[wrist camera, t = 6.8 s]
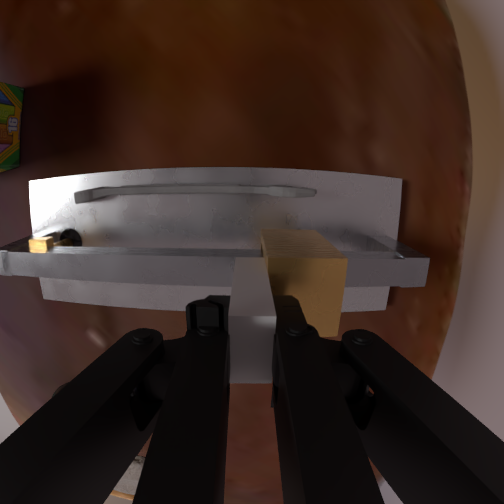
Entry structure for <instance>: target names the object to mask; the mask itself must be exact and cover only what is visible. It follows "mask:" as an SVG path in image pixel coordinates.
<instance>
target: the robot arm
mask: <svg viewBox="0 0 504 504" xmlns="http://www.w3.org/2000/svg"><path fill="white" fill-rule="evenodd" d="M185 308H186V321H187V332H186V335H185V336H184V337H182V338H178V339H172V340H163V336H162V334H161V333H160V332H159V331H157V330H154V329H148V328H142V329H141V328H139V329H136V330H133V331H130V332H128V333H127V334H125V335H124V336H123V337H122V338H120V339H119V340H118V341H117V342H116V343H115V344H113V345H112V346H111V347H110V348H109V349H108V350H106V351H105V352H104V353H103V354H102V355H101V356H99V357H98V358H97V359H96V360H95V361H94V362H92V363H91V364H90V365H89V366H88V367H87V368H85V369H84V370H83V371H82V372H81V373H80V374H79V375H77V376H76V377H75V378H74V379H73V380H72V381H71V382H69V383H68V384H67V385H66V386H65V387H64V388H63V389H61V390H60V391H59V392H58V393H57V394H56V395H55V396H53V397H52V398H51V399H50V400H49V401H48V402H47V403H45V404H44V405H43V406H42V407H41V408H40V409H39V410H38V411H36V412H35V413H34V414H33V415H32V416H31V417H30V418H29V419H28V420H26V421H25V422H24V423H23V424H22V425H21V426H20V427H19V428H18V429H17V430H15V431H14V432H13V433H12V434H11V435H10V436H9V437H8V438H7V439H5V440H4V441H3V442H2V443H1V444H0V504H103V503H104V502H105V500H106V499H107V498H108V496H109V495H110V493H111V492H112V490H113V489H114V488H115V486H116V485H117V483H118V482H119V480H120V479H121V478H122V476H123V475H124V473H125V472H126V470H127V469H128V468H129V466H130V465H131V463H132V462H133V460H134V459H135V457H136V456H137V455H138V453H139V452H140V450H141V449H142V447H143V446H144V444H145V443H146V441H147V440H148V439H149V437H150V436H151V434H152V433H153V435H152V438H151V441H150V444H149V448H148V451H147V454H146V458H145V461H144V464H143V468H142V471H141V475H140V478H139V482H138V485H137V489H136V492H135V496H134V499H133V503H132V504H224V484H225V465H226V447H227V430H228V413H229V397H230V383H272V376H273V388H272V400H271V407H274V414H275V424H276V433H277V442H278V452H279V462H280V471H281V481H282V491H283V500H284V504H385V503H384V501H383V498H382V495H381V492H380V489H379V487H378V484H377V481H376V478H375V476H374V473H373V470H372V467H371V465H370V462H369V459H368V457H369V458H370V460H371V461H372V462H373V464H374V465H375V467H376V468H377V469H378V471H379V472H380V473H381V475H382V476H383V477H384V479H385V480H386V481H387V482H388V484H389V485H390V486H391V488H392V489H393V491H394V492H395V493H396V494H397V496H398V497H399V498H400V500H401V501H402V502H403V503H404V504H504V442H503V441H502V440H501V439H500V438H499V437H497V436H496V435H495V434H494V433H493V432H492V431H490V430H489V429H488V428H487V427H486V426H485V425H484V424H482V423H481V422H480V421H479V420H477V418H475V417H474V416H473V415H472V414H471V413H470V412H468V411H467V410H466V409H465V408H464V407H463V406H461V405H460V404H459V403H458V402H457V401H456V400H454V399H453V398H452V397H451V396H450V395H449V394H447V393H446V392H445V391H444V390H443V389H441V388H440V387H439V386H438V385H437V384H436V383H434V382H433V381H432V380H431V379H430V378H428V377H427V376H426V375H425V374H424V373H422V372H421V371H420V370H419V369H418V368H417V367H415V366H414V365H413V364H412V363H411V362H409V361H408V360H407V359H406V358H405V357H403V356H402V355H401V354H400V353H398V352H397V351H396V350H395V349H394V348H392V347H391V346H390V345H389V344H388V343H386V342H385V341H384V340H383V339H382V338H380V337H379V336H378V335H376V334H375V333H373V332H370V331H367V330H364V329H362V330H361V329H356V330H350V331H347V332H345V333H344V334H343V335H342V340H341V341H335V340H329V339H324V338H321V337H320V336H319V333H318V331H317V330H316V328H315V327H313V326H312V325H310V324H307V321H306V319H305V316H304V313H303V312H302V308H301V306H300V303H299V301H298V300H297V299H296V298H295V297H293V296H292V295H272V292H271V287H270V282H269V277H268V273H267V268H266V263H265V258H260V257H236V258H235V266H234V273H233V281H232V289H231V295H209V296H207V297H206V298H205V299H199V300H195V301H192V302H190V303H188V304H187V305H186V307H185ZM369 387H370V388H371V389H372V390H373V392H374V395H373V394H372V393H371V392H370V391H369ZM367 456H368V457H367Z"/></svg>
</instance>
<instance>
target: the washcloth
mask: <svg viewBox="0 0 504 504" xmlns="http://www.w3.org/2000/svg"><path fill="white" fill-rule="evenodd" d="M144 461H145V458H144V457H142V456H136V457H135V459H134V460H133V462H132V463H131V465H130V466H129V468H128V469H127V470H126V472H125V473H124V475H123V476H122V478H121V479H120V480H119V482H118V483H117V485H116V486H115V488H114V489H113V490H117V491H120V492H123V493H127V494H133V495H135V492H136V489H137V485H138V482H139V478H140V475H141V471H142V468H143V464H144Z"/></svg>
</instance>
